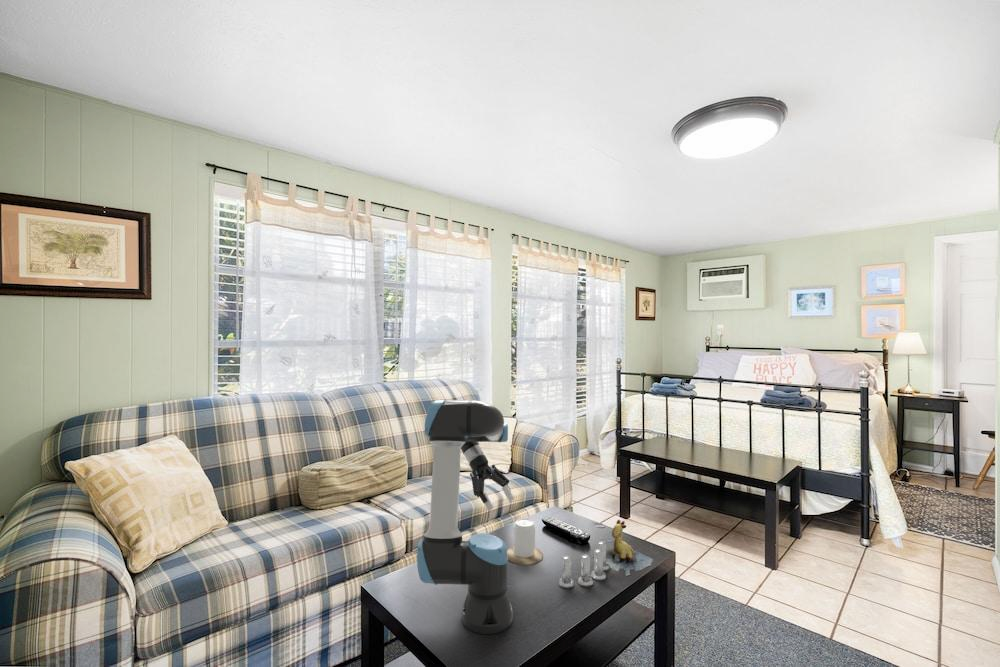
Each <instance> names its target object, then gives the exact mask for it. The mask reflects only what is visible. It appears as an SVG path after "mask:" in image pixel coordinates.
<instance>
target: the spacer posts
mask: <svg viewBox="0 0 1000 667" xmlns="http://www.w3.org/2000/svg"><path fill="white" fill-rule="evenodd" d="M593 551H594V552H593V553H594V556H593V557H594V558H593V561H594V562H593V563H594V564H593V565H594V567H593V570H592V571H591V556H590V555H589V554H586V553H585V554H582V555H581V556H580V557H581V558H580V559H581V560H580V565H581V567H580V569H581V570H580V576H579V577H578V578H577V583H578V585H580V586H581V587H584V588H589V587H590V588H591V587H592V586H593V585H594V580H595V581H604V580H606V578H607V574H606V571H609V570H610V567H609V564H608V563H606V551H607V542H606V541H604V540H599V541H597V548H595V549H594V550H593ZM558 585H559V586H560V587H561V588H564V589H572V588H573V587H575V586H574V585H575V580H573V579H572V557H571V556H569V555H562V556H561V578H559V579H558Z"/></svg>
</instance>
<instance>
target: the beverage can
mask: <svg viewBox="0 0 1000 667" xmlns="http://www.w3.org/2000/svg"><path fill="white" fill-rule="evenodd" d="M513 547H514V554H515V555H517V556H519V557H522V558H527V557H531V556H533V555H534V554H535V548H536V525H535V522H534V521H533V520H532V519H529V518H519V519H516V520H515V523H514V524H513Z"/></svg>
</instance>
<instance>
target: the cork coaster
mask: <svg viewBox="0 0 1000 667" xmlns="http://www.w3.org/2000/svg"><path fill="white" fill-rule="evenodd" d="M507 557H508V562H511V563H513V564H516V565H520V566H529V565H530V566H531V565H534V564H537V563H539V562H541V561H542V559H543V552H542V551H541V550H540V549H539V548H537V547H535V554H534V555H533V556H531V557H527V558H522V557H519V556H517V555H515V554H514V546H512V547H510V548H507Z"/></svg>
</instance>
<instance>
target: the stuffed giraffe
mask: <svg viewBox="0 0 1000 667" xmlns="http://www.w3.org/2000/svg"><path fill="white" fill-rule="evenodd" d="M625 523H626V522H625V521H624V520H623V521H622V522H621V520H620V519H618V520H617V521H616V524H615V525H614V526H613V528H612V532H611V535H612V537H613V538H614V541H613V548H611V549H608V550H606V563H608V564H609V569H612V570H614V571H616V572H619V571H620V570H624V571H625V573H624V574H625V577H628V576H630V575H631V572H630V571H631V570H634V571H637V572H639V571H641V570H644V569H646V568H648V567H650V566H653V564H652V563H653V562H654V559H653V558H651V557H650V556H647V555H645V554H644V553H642V552H639V551H637V550H634V549H633V548H632V546H631V545H630V544H628V543H627V542H625V541H623V539H622V538H623V531H624V529H626V528H627V525H626V524H625ZM633 554H636V555H634V557H635V559H636V561H635V562H632V560H633ZM592 559H594V556H593V557H592ZM613 561H615V562H616V563H614V562H613ZM631 562H632V563H631Z"/></svg>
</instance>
